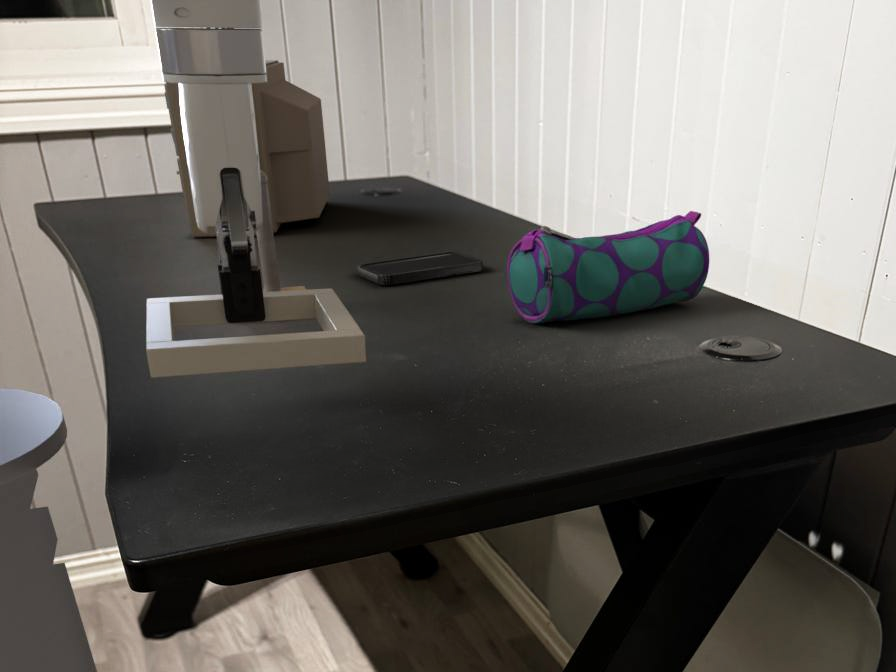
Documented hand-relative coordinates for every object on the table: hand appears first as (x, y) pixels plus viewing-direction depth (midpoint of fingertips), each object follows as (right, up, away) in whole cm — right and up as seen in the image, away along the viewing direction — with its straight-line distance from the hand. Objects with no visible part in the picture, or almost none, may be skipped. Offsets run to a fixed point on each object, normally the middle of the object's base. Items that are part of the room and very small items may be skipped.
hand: (244, 315), depth 78 cm
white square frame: (+2, -4, -5) cm, 7 cm away
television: (-17, +45, +80) cm, 93 cm away
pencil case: (+34, +9, +25) cm, 43 cm away
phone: (+12, +20, +43) cm, 49 cm away
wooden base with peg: (-4, +11, +28) cm, 31 cm away
